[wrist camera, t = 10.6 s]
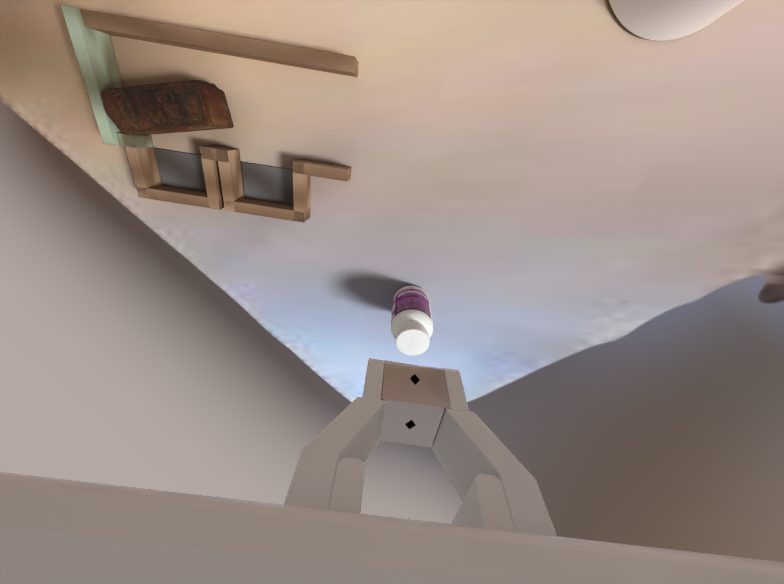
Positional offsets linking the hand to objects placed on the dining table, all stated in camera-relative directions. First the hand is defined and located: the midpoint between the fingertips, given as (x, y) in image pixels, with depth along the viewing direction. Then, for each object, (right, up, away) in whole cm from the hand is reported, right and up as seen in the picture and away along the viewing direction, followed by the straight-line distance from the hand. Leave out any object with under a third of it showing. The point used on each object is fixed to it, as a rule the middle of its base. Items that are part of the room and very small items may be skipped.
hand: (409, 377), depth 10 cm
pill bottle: (+2, +2, +33) cm, 33 cm away
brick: (-23, +23, +22) cm, 40 cm away
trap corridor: (-18, +21, +23) cm, 36 cm away
